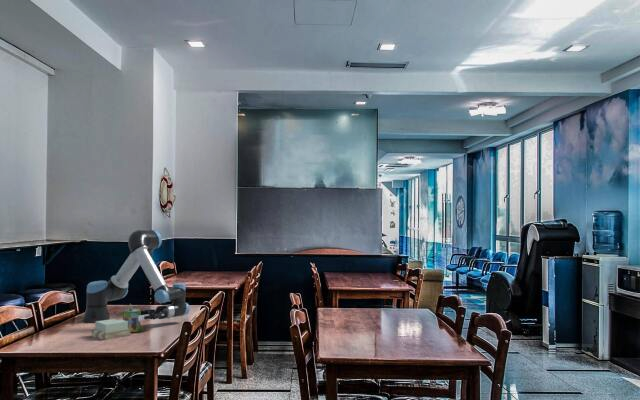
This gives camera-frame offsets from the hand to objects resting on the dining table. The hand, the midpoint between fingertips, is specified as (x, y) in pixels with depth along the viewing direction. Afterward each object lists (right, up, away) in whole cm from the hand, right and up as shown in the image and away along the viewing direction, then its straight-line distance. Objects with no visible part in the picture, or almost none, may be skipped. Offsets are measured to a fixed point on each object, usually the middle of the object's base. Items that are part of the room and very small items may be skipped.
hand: (131, 316), depth 291 cm
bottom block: (-7, -8, -11) cm, 15 cm away
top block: (-7, -4, -11) cm, 14 cm away
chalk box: (0, -8, +1) cm, 8 cm away
